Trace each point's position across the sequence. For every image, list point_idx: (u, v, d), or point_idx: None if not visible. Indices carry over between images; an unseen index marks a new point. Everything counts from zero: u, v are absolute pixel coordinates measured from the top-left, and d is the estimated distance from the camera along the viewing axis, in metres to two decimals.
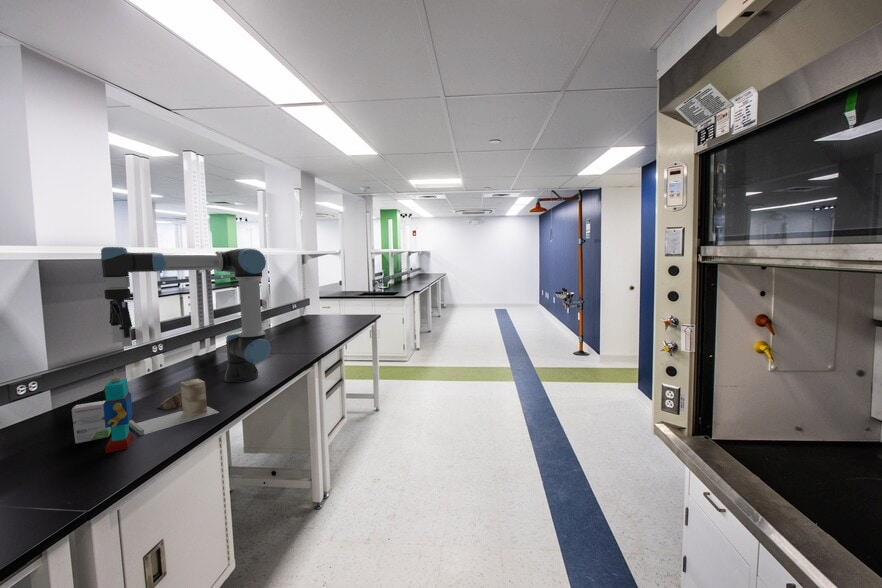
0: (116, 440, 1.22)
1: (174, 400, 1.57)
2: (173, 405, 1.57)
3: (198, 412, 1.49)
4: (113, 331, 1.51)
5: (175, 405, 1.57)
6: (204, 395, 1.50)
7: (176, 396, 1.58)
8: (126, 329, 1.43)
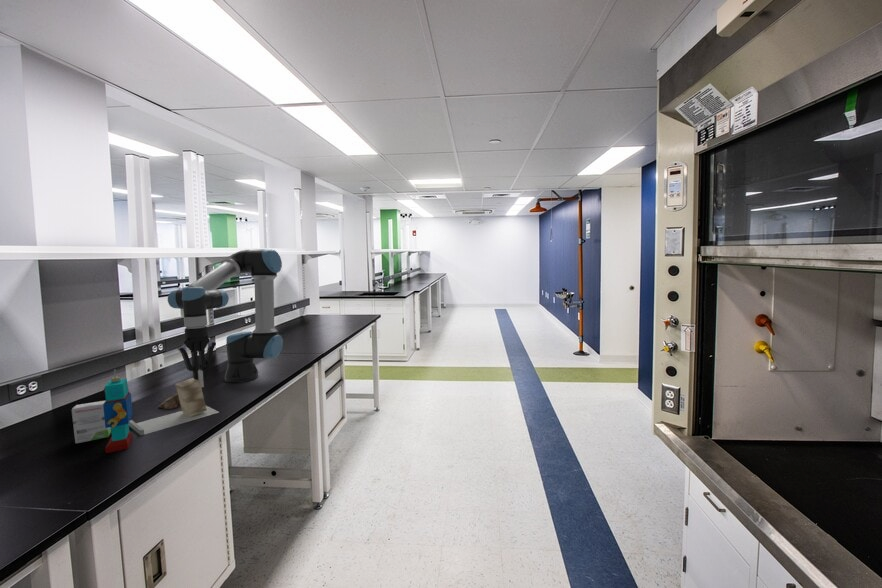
0: (116, 440, 1.22)
1: (175, 400, 1.58)
2: (174, 405, 1.57)
3: (197, 411, 1.49)
4: None
5: (176, 405, 1.58)
6: (201, 394, 1.50)
7: (177, 396, 1.58)
8: (193, 371, 1.50)
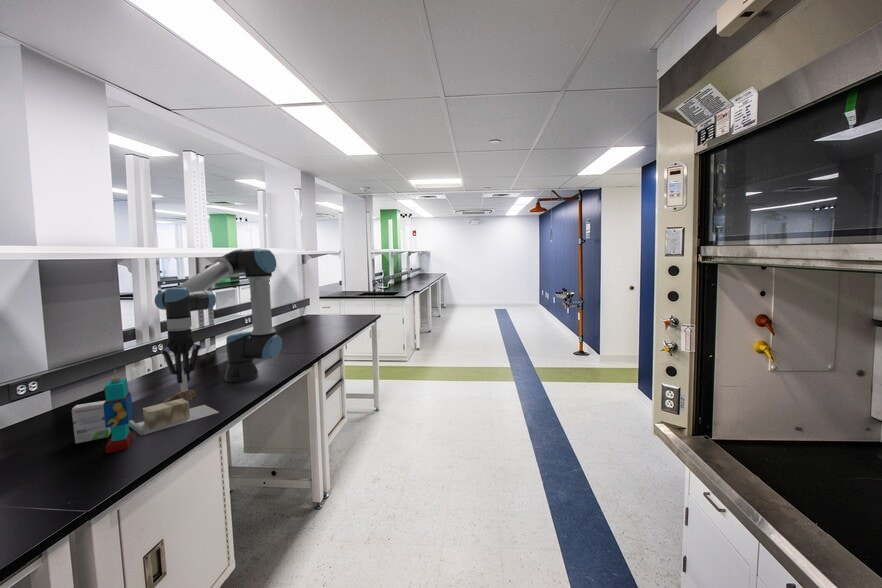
0: (116, 440, 1.22)
1: None
2: None
3: (186, 410, 1.46)
4: None
5: None
6: (166, 409, 1.41)
7: (178, 396, 1.58)
8: None
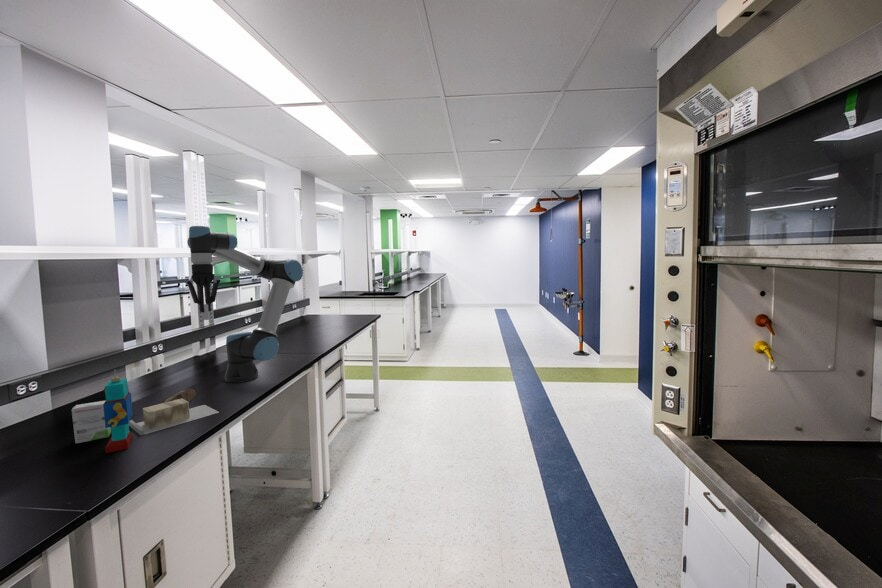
0: (116, 440, 1.22)
1: None
2: None
3: (186, 410, 1.46)
4: None
5: None
6: (166, 409, 1.41)
7: (180, 395, 1.59)
8: (199, 304, 1.63)
